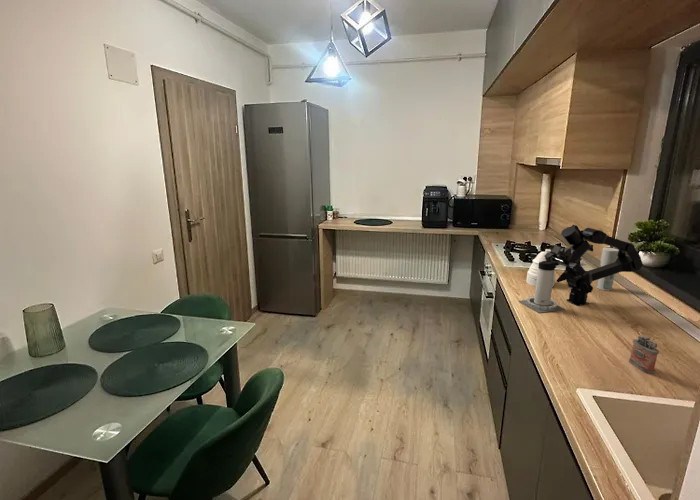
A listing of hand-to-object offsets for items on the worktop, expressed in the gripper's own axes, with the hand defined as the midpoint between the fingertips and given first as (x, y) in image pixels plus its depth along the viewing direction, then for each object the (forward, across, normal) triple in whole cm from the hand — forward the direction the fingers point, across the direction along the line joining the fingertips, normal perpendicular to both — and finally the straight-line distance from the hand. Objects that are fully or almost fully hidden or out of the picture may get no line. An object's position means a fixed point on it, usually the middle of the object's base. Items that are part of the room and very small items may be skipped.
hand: (549, 278), depth 163 cm
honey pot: (-2, -26, +21) cm, 33 cm away
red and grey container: (+12, +49, +6) cm, 51 cm away
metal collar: (+11, 0, +7) cm, 13 cm away
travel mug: (+10, 0, +7) cm, 13 cm away
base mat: (+11, 0, +7) cm, 13 cm away
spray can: (-20, -12, +38) cm, 45 cm away
